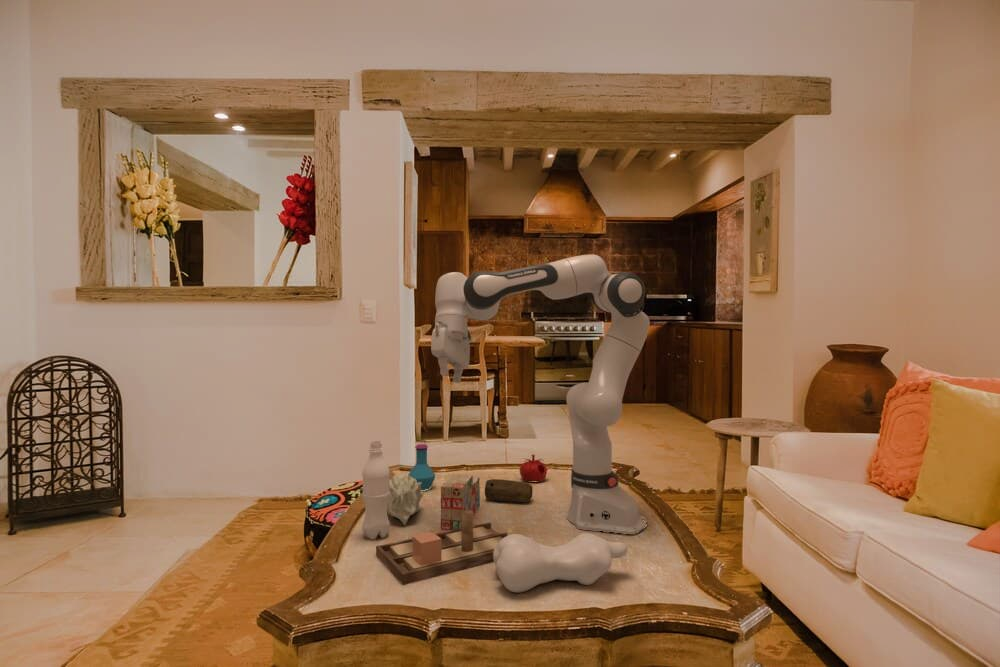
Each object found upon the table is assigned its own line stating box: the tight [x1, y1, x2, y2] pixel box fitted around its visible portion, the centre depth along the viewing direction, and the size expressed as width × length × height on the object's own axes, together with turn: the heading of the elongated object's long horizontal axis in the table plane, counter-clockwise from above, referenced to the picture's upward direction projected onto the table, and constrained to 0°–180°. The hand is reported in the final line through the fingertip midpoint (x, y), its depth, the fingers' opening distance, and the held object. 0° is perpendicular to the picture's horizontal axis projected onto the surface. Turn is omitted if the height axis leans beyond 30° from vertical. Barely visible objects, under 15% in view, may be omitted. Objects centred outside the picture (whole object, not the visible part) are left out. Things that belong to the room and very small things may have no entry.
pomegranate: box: [519, 454, 548, 482], centre depth 200 cm, size 10×10×9 cm
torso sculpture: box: [493, 532, 628, 594], centre depth 123 cm, size 16×11×30 cm
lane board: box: [375, 522, 509, 585], centre depth 135 cm, size 32×18×2 cm, turn 121°
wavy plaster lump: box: [387, 474, 424, 526], centre depth 161 cm, size 18×13×16 cm
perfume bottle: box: [407, 443, 436, 490], centre depth 189 cm, size 9×9×15 cm
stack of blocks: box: [440, 473, 481, 531], centre depth 161 cm, size 21×6×12 cm, turn 169°
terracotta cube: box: [412, 531, 441, 565], centre depth 127 cm, size 5×5×5 cm
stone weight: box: [484, 478, 533, 503], centre depth 176 cm, size 15×7×7 cm, turn 82°
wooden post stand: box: [404, 510, 503, 571], centre depth 131 cm, size 26×6×10 cm, turn 121°
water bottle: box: [361, 440, 391, 540], centre depth 147 cm, size 7×7×25 cm
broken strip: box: [390, 526, 494, 557], centre depth 139 cm, size 26×6×1 cm, turn 121°
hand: (450, 379), depth 148 cm, fingers open, 8 cm apart
